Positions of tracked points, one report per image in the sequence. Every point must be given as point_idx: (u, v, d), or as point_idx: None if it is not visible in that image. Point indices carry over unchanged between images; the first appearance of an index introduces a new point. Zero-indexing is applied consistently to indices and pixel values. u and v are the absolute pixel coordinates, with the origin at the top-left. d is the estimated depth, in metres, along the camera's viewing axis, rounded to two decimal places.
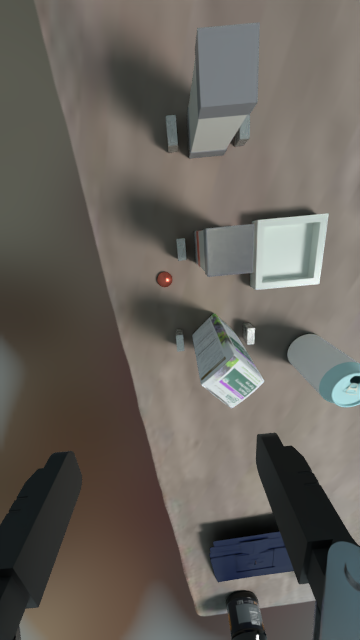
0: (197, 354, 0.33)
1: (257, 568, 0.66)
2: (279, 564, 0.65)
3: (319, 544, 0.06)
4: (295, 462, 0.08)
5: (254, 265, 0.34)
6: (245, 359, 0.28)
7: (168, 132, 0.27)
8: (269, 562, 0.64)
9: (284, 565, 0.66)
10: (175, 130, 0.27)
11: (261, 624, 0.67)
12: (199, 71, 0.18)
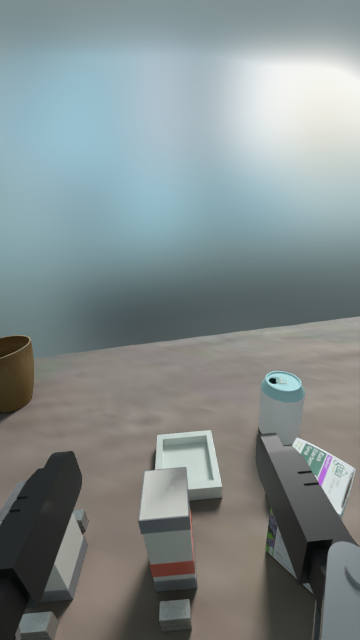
0: None
1: None
2: None
3: (319, 544, 0.06)
4: (295, 462, 0.08)
5: (197, 492, 0.33)
6: None
7: (32, 629, 0.22)
8: None
9: None
10: (36, 615, 0.23)
11: None
12: None
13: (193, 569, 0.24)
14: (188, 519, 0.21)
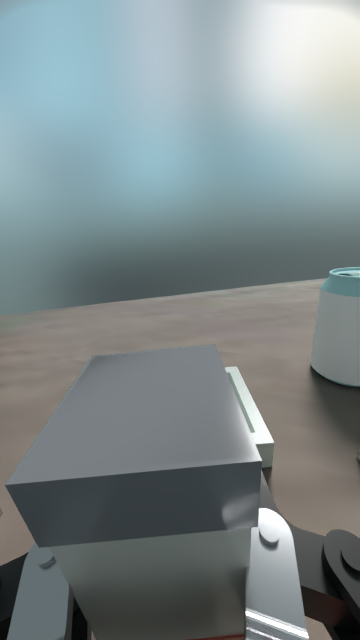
0: None
1: None
2: None
3: None
4: None
5: None
6: None
7: None
8: None
9: None
10: None
11: None
12: None
13: None
14: (255, 477, 0.04)
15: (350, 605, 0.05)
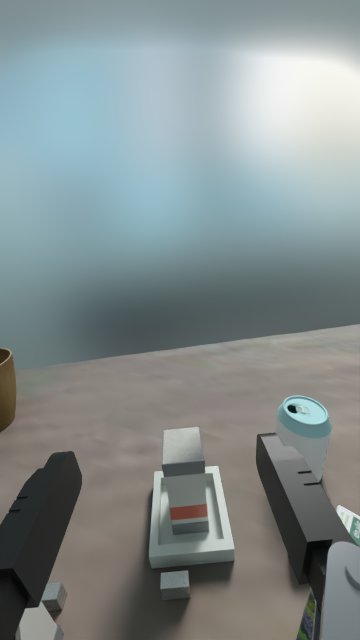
0: None
1: None
2: None
3: (319, 544, 0.06)
4: (295, 462, 0.08)
5: (203, 555, 0.26)
6: None
7: None
8: None
9: None
10: None
11: None
12: None
13: (206, 512, 0.28)
14: (203, 463, 0.25)
15: None
